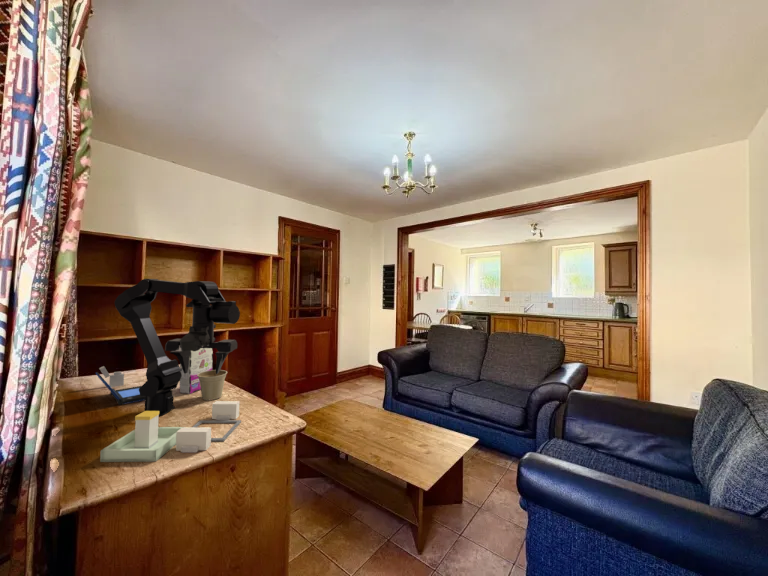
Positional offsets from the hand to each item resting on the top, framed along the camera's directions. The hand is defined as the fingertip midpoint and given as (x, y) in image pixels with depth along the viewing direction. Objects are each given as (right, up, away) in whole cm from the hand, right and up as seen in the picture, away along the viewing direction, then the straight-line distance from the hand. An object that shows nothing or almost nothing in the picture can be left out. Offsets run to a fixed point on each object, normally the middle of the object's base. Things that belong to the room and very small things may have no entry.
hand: (201, 373), depth 94 cm
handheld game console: (-34, -12, +13) cm, 39 cm away
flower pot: (-6, -13, +16) cm, 21 cm away
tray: (-2, -13, -19) cm, 23 cm away
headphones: (+8, -13, -9) cm, 18 cm away
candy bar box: (-16, -13, +24) cm, 32 cm away
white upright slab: (-48, -12, +24) cm, 55 cm away
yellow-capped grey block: (-2, -12, -19) cm, 23 cm away
